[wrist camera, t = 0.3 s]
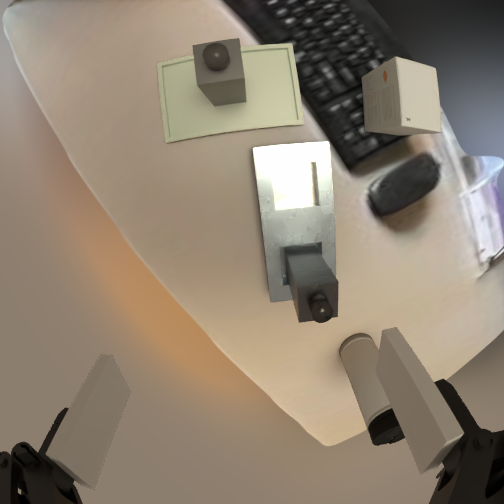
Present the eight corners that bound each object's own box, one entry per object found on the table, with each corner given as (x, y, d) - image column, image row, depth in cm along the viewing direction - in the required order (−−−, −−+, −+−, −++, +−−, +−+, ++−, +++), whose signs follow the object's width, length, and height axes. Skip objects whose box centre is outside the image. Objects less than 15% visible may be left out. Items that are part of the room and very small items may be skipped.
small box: (398, 135, 33) (442, 135, 23) (363, 131, 33) (401, 127, 23) (395, 82, 30) (437, 67, 20) (360, 76, 30) (395, 55, 20)
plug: (210, 77, 30) (187, 37, 17) (242, 73, 30) (238, 29, 17) (214, 106, 32) (192, 79, 18) (246, 102, 31) (244, 71, 18)
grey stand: (252, 148, 34) (253, 144, 20) (322, 142, 34) (367, 138, 20) (269, 292, 41) (277, 360, 27) (330, 284, 40) (364, 346, 26)
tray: (159, 65, 30) (156, 63, 29) (290, 46, 29) (291, 43, 28) (168, 143, 33) (165, 142, 32) (302, 125, 33) (304, 124, 32)
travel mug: (378, 332, 44) (428, 419, 25) (364, 361, 46) (402, 448, 27) (347, 329, 43) (391, 425, 25) (334, 359, 46) (365, 453, 27)
